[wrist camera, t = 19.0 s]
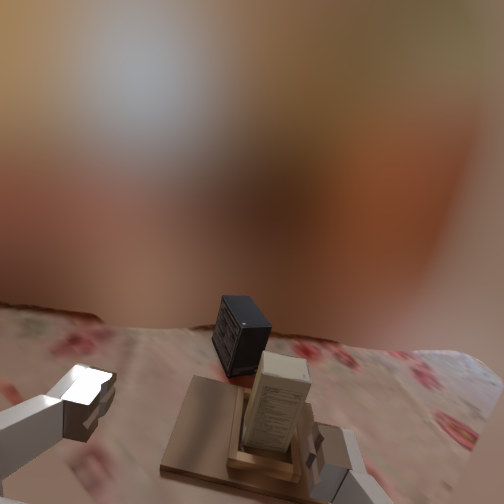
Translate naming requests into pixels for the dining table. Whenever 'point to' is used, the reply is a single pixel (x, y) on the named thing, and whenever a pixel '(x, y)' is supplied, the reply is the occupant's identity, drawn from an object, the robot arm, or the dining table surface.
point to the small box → (240, 335)
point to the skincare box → (276, 401)
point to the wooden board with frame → (235, 445)
